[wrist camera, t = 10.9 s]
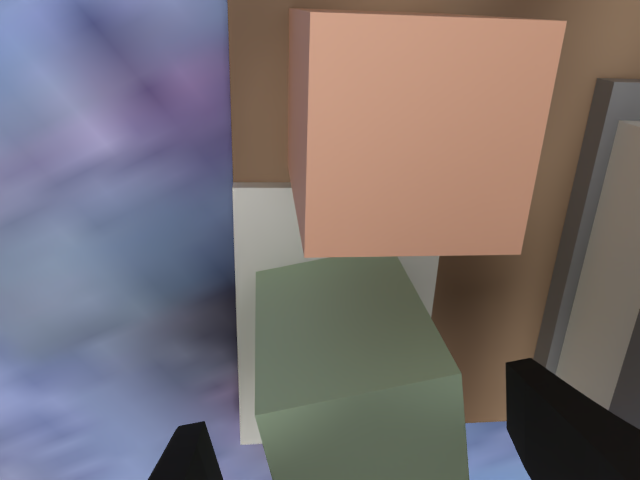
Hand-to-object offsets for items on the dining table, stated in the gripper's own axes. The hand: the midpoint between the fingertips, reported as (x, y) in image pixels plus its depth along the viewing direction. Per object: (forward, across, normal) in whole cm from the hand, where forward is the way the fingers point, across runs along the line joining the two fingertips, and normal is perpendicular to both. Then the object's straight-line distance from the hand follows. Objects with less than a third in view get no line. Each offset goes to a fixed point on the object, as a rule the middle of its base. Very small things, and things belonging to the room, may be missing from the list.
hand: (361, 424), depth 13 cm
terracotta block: (+5, -2, -7) cm, 8 cm away
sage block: (+4, 0, 0) cm, 4 cm away
